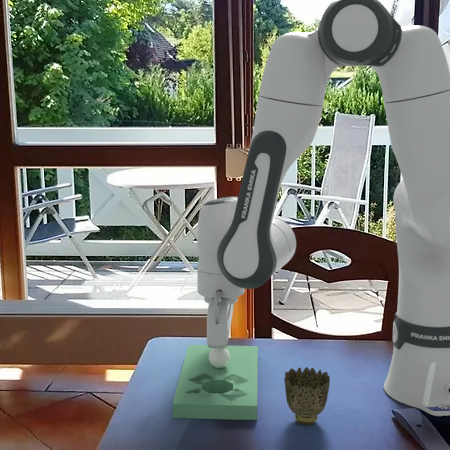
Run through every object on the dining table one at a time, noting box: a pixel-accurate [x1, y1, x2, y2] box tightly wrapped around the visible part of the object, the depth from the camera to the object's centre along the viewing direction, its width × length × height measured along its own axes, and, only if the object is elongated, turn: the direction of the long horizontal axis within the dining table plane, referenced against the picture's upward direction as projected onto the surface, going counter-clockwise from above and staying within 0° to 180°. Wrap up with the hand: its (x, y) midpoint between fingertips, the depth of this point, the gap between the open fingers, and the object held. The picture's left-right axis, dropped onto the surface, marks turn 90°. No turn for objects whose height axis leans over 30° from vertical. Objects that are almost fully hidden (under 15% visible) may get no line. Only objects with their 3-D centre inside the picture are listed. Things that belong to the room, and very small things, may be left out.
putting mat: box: [171, 344, 259, 421], centre depth 125 cm, size 14×26×2 cm, turn 177°
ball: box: [209, 348, 230, 368], centre depth 127 cm, size 4×4×4 cm
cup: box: [283, 366, 331, 426], centre depth 111 cm, size 8×7×8 cm
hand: (220, 352), depth 130 cm, fingers closed
